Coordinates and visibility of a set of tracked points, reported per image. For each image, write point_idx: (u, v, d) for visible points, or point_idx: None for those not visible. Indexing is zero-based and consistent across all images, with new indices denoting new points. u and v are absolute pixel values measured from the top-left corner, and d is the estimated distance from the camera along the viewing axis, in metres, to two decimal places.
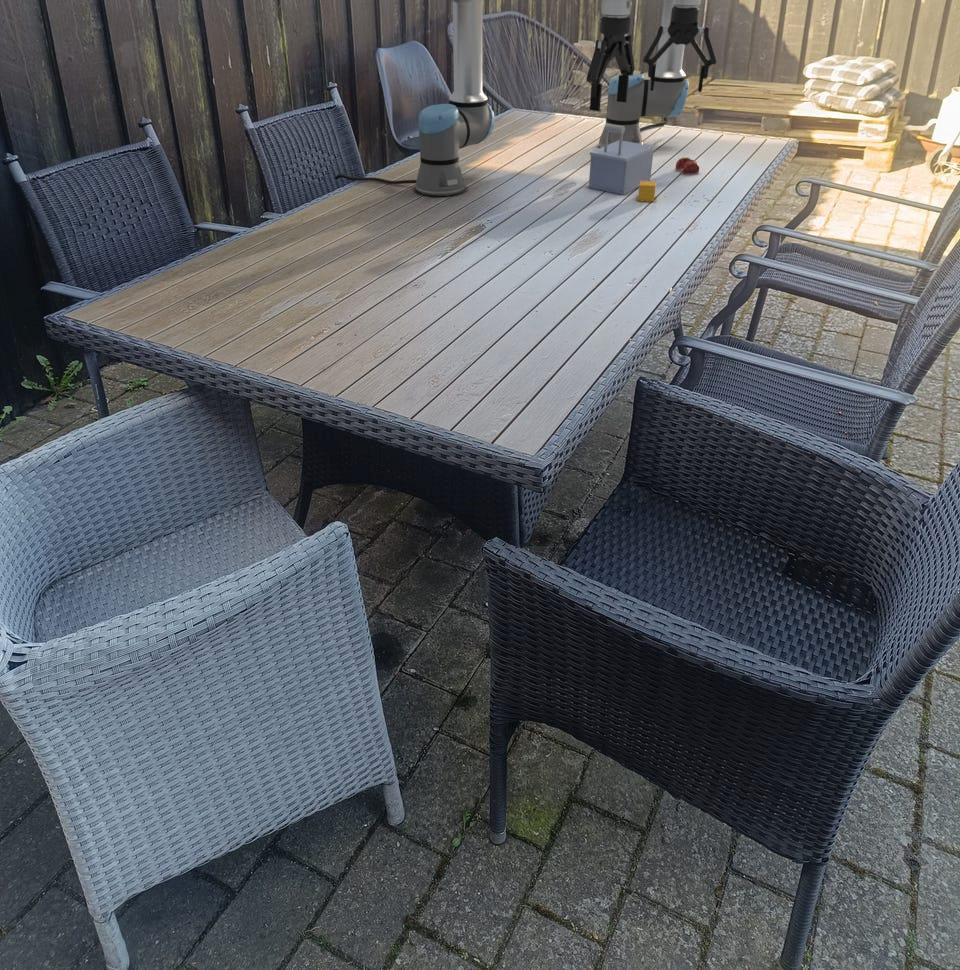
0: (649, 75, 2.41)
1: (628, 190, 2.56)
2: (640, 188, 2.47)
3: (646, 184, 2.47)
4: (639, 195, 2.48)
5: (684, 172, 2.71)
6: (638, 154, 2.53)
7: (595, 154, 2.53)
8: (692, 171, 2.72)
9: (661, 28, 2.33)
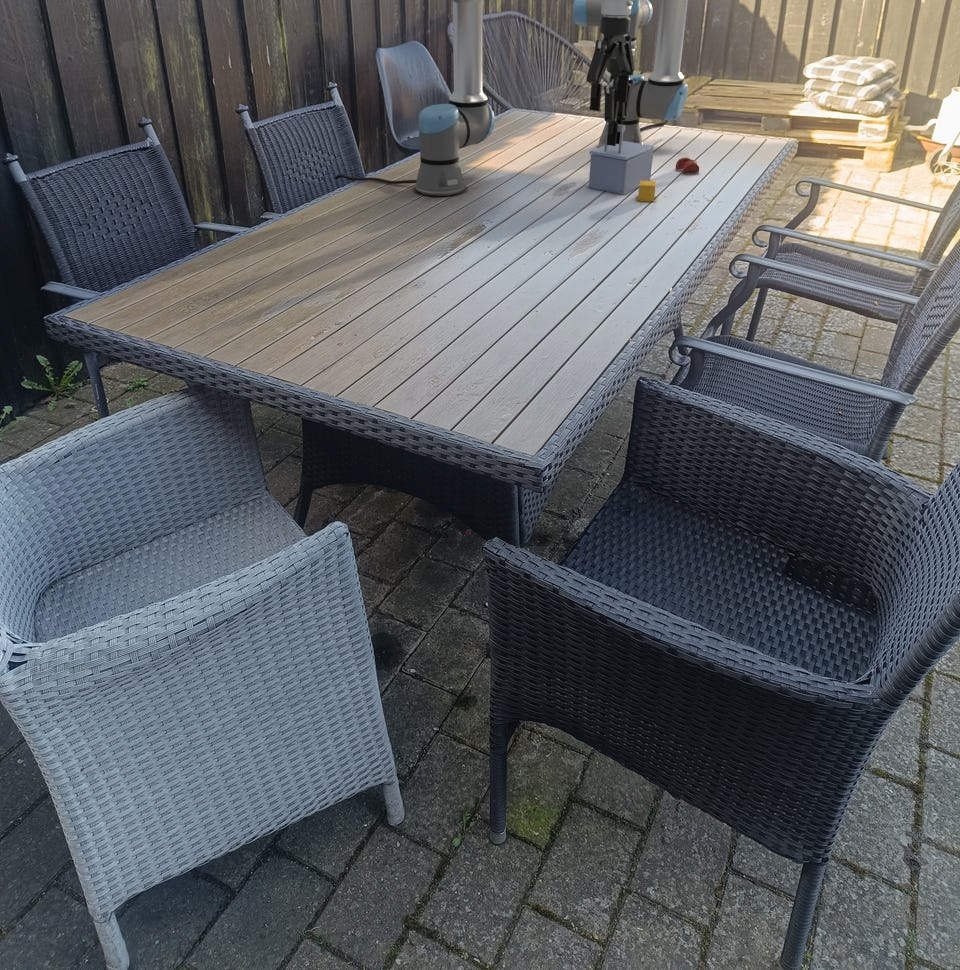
0: (612, 132, 2.47)
1: (628, 190, 2.56)
2: (640, 188, 2.47)
3: (646, 184, 2.47)
4: (639, 195, 2.48)
5: (684, 172, 2.71)
6: (638, 153, 2.53)
7: (595, 153, 2.53)
8: (692, 171, 2.72)
9: (612, 88, 2.37)
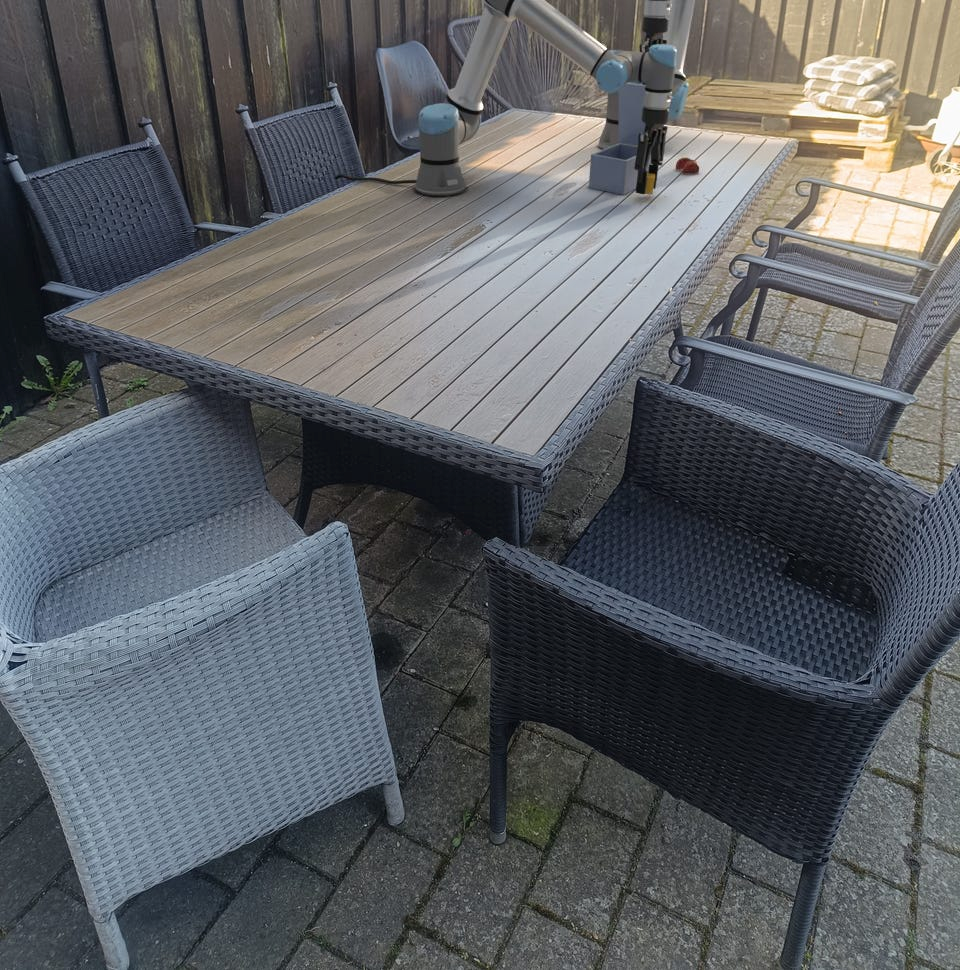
0: None
1: (628, 190, 2.56)
2: None
3: None
4: None
5: (684, 172, 2.71)
6: None
7: None
8: (692, 171, 2.72)
9: (648, 46, 2.45)
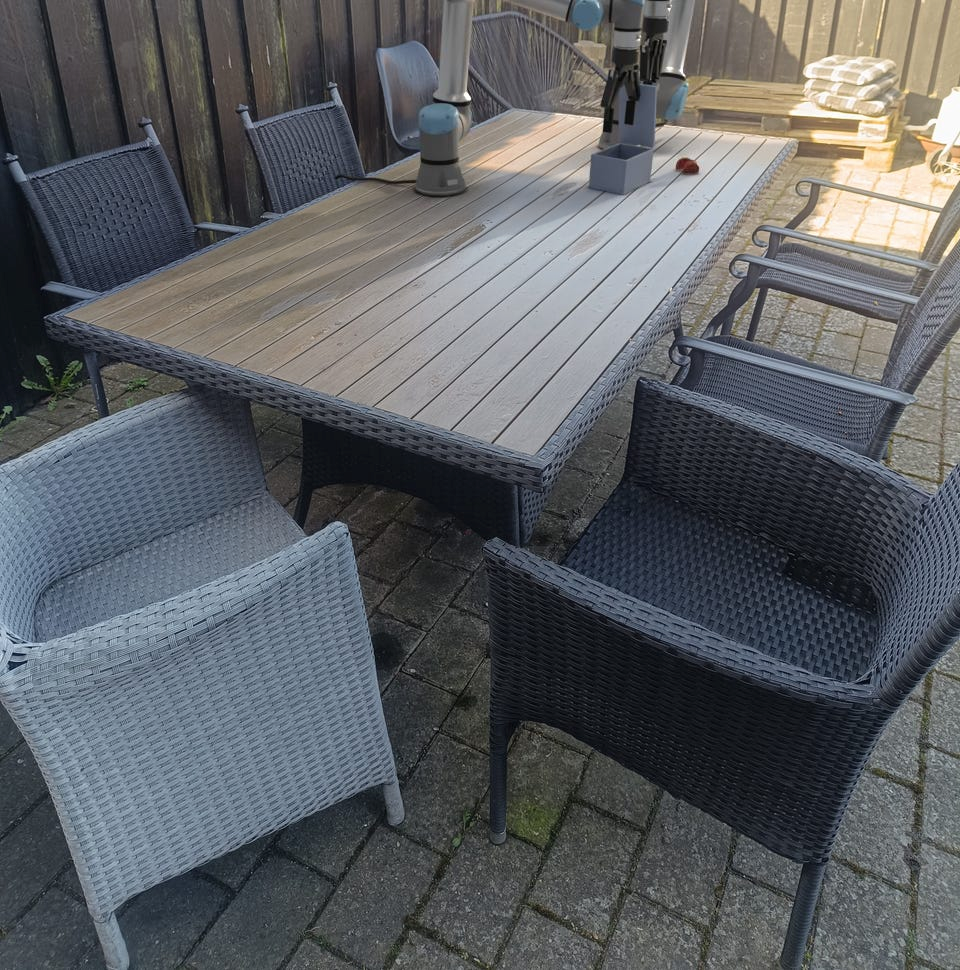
0: None
1: (628, 190, 2.56)
2: None
3: None
4: None
5: (684, 172, 2.71)
6: (655, 114, 2.53)
7: None
8: (692, 171, 2.72)
9: (648, 47, 2.45)
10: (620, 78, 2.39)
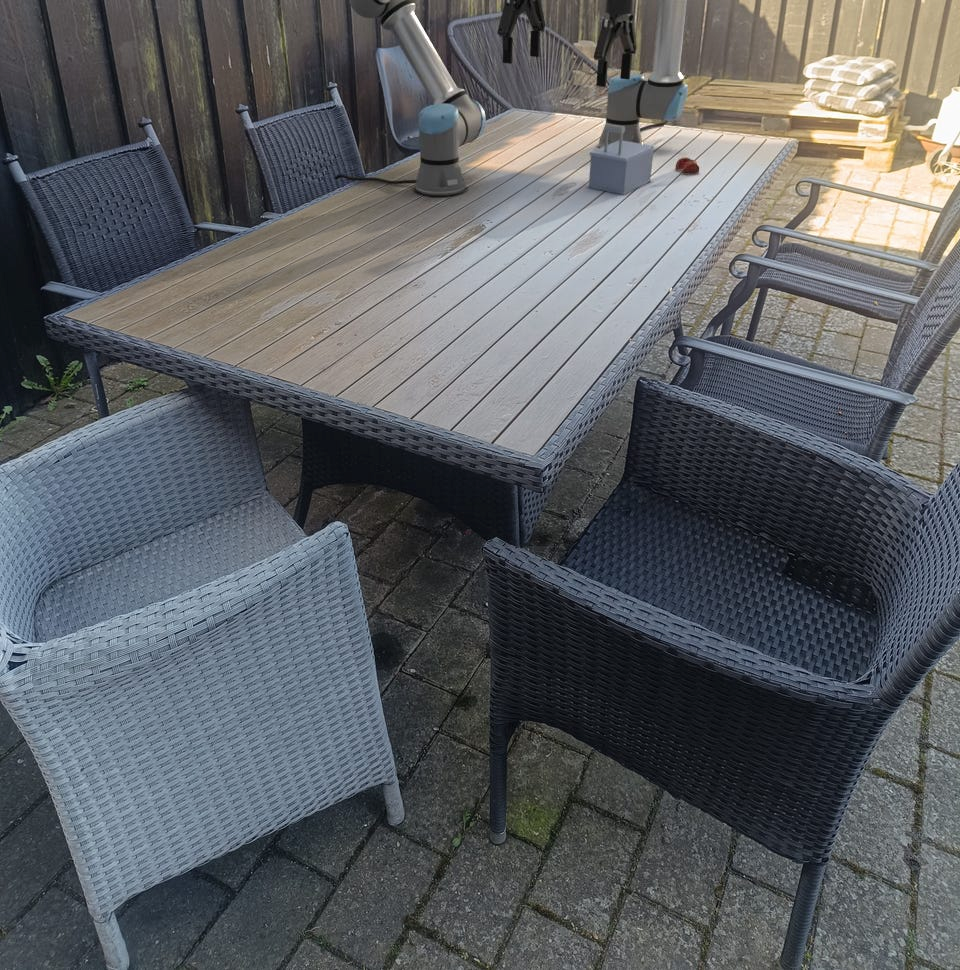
0: (602, 71, 2.31)
1: (628, 190, 2.56)
2: None
3: None
4: None
5: (684, 172, 2.71)
6: (638, 154, 2.53)
7: (595, 154, 2.53)
8: (692, 171, 2.72)
9: (611, 21, 2.25)
10: (518, 5, 2.29)
